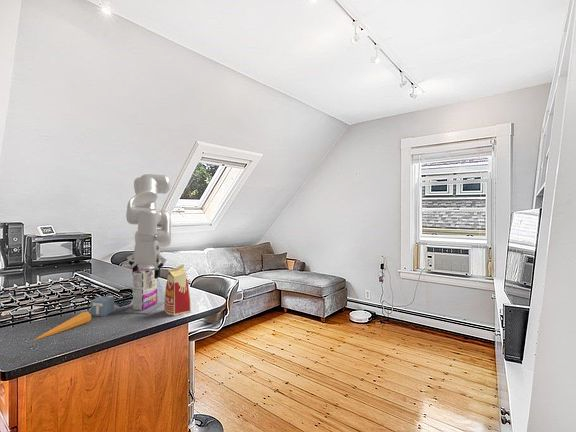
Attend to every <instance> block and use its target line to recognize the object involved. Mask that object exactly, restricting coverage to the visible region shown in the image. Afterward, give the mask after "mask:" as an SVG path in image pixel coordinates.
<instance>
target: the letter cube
mask: <svg viewBox="0 0 576 432" xmlns="http://www.w3.org/2000/svg"><path fill="white" fill-rule="evenodd" d="M114 312H115V297H113V296H100V295H99V296H97V297H96V298H94V299H91V300H90V312H89V313H90V314H91V316H97V317H106V316H108V315H109V314H112V313H114Z"/></svg>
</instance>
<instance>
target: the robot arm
mask: <svg viewBox="0 0 576 432" xmlns="http://www.w3.org/2000/svg"><path fill="white" fill-rule="evenodd" d="M133 188H134V193H135V195H133V196H132V197H131V198H130V200H128V202H127V205H126V213H125V214H126V215H125V216H126V217H125V218H126V221H127V223H128V224H129V225H137V230H136V231H135V233H134V244H135V245H134V249H133V250H134V251H133V254H131V255H129V256H126V259H127V262H128V264H129V265H130V267H131V268H132V273H131V274H132V275H133V272H134V271H137V270H140V269H143V268H146V267H155V268H156V269H155V270H154V278H155V279H157V282H158V281H159V278H160V275H161V269H162V268H163V267H164V266H165V263H166V262H167V259H166V258H165V257H163V256H162V255H161V249H160V248H165V247H169V246H170V245H171V242H172V220H171V219H172V218H171V213H170V212H169V211H167V210H163V209H162V210H161V209H158V208H157V202H156V201H157V200H158V194H162V195H163V194H168V193H169V190H170V188H171V180H170V178H169V177H168V175H164V174H156V173H155V174H152V173H145V174H142V175H141V176H140V177H136V178H135V179H134V180H133ZM159 287H160V286H159V285H158V284H157V290H159ZM131 290H132V291H133V286H132V287H131Z"/></svg>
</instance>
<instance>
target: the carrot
mask: <svg viewBox="0 0 576 432" xmlns="http://www.w3.org/2000/svg"><path fill="white" fill-rule="evenodd" d="M91 320H92V315H91V314H90V312H89V311H82V312H80V313H78V314H77V315H74V316H73V317H70V319H68V320H66V321H64V322H63V323H61V324H59V325H56V326H55V327H53V328H52V329H49V330H48V331H46V332H44V333H42V334H41V335H40V336H37V337H36V338H35V339H33V340H32V342H34V341H37V340H40V339H43V338H47V337H50V336H53V335H55V334H56V335H57V334H59V333H62V332H65V331H69V330H70V329H74V328H77V327H80V326H83V325H85V324H88V323H89V322H90V321H91Z"/></svg>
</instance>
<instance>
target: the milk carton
mask: <svg viewBox="0 0 576 432" xmlns="http://www.w3.org/2000/svg"><path fill="white" fill-rule="evenodd" d="M184 266H185V264H184V263H183V264H180V265H178V266H176V267H173V268H170V269H168V270H167V271H168V273H167V278H166V283H165V284H166V285H165V294H164V301H163V302H164V304H163V308H164V309H163V310H164V312H165V313H166V315H169V316H180V315H183V314H184V313H185V314H189V313H188V312H190V313H191V312H192V310H191V308H192V306H191V300H192V299H191V291H190V285H189V280H188V277H187V273H186V269H185V267H184ZM179 314H180V315H179ZM185 314H184V315H185Z"/></svg>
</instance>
